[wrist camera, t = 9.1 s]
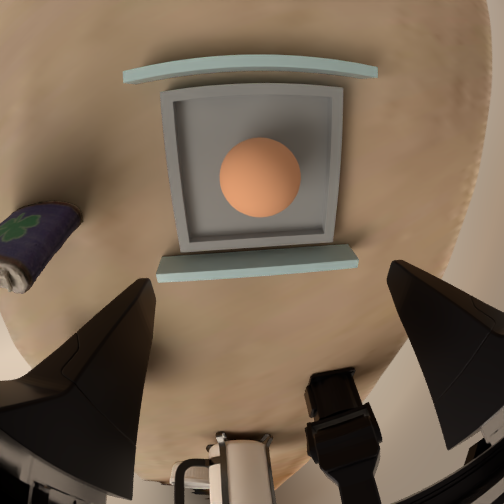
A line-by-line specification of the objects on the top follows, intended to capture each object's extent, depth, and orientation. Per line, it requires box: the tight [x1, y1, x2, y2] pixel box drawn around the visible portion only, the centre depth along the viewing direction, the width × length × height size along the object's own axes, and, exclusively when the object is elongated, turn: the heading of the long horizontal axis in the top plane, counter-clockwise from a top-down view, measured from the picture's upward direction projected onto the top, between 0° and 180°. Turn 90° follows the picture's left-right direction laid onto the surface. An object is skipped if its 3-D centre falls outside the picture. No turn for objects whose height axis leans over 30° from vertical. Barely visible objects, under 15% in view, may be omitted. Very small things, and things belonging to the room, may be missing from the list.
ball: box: [219, 137, 301, 217], centre depth 17 cm, size 5×5×5 cm
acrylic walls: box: [123, 55, 378, 283], centre depth 18 cm, size 16×16×2 cm
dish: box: [160, 83, 343, 252], centre depth 19 cm, size 12×12×1 cm
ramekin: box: [170, 461, 210, 489], centre depth 55 cm, size 13×13×7 cm
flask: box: [0, 201, 83, 294], centre depth 15 cm, size 9×3×11 cm, turn 87°
